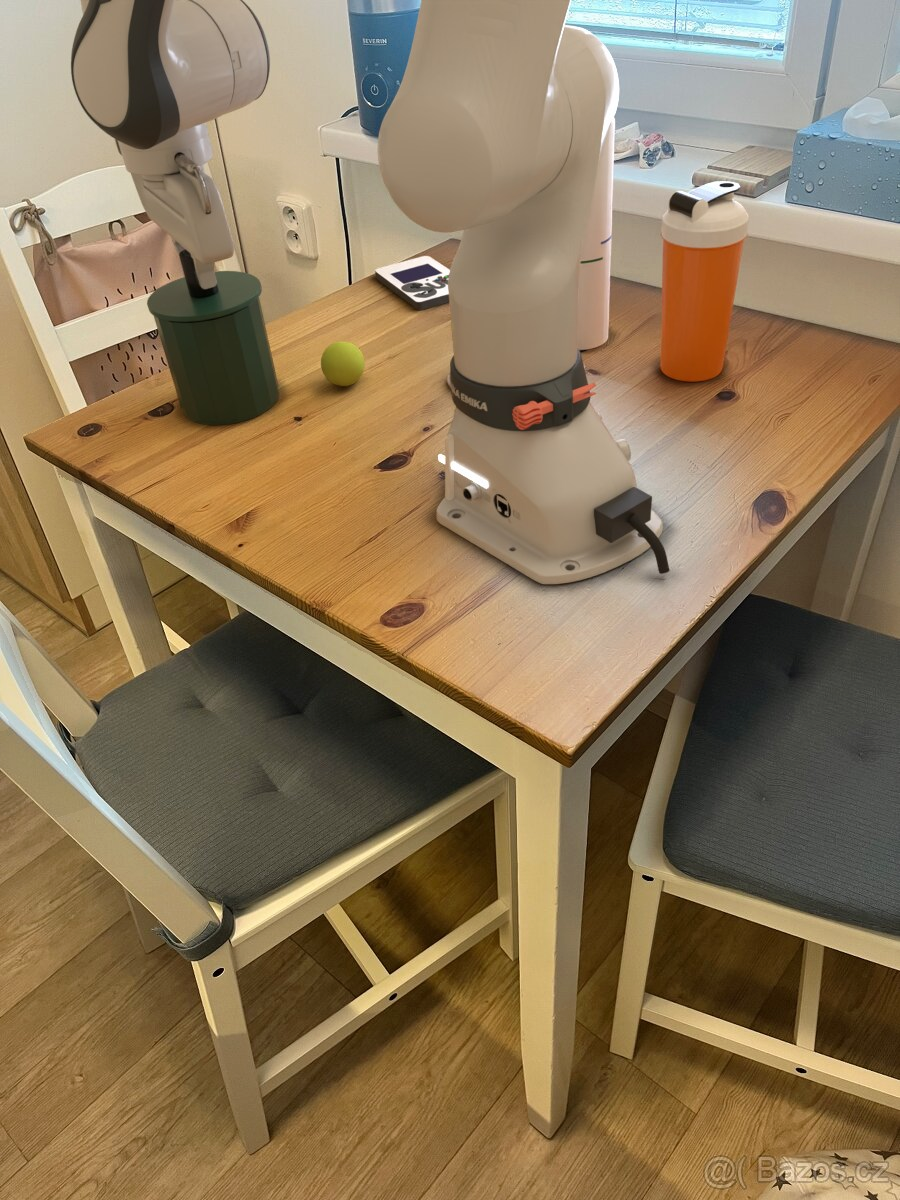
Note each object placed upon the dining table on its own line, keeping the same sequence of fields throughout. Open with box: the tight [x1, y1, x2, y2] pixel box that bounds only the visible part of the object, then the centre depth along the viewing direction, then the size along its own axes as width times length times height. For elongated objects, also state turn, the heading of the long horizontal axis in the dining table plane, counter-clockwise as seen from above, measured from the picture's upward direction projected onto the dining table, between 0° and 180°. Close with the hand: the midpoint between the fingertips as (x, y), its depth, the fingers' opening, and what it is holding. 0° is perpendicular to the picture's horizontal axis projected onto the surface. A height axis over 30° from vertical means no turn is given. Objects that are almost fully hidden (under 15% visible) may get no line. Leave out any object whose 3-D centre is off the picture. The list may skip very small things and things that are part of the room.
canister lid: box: [146, 249, 263, 322], centre depth 103 cm, size 13×13×6 cm
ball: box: [320, 340, 366, 387], centre depth 112 cm, size 5×5×5 cm
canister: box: [153, 296, 280, 426], centre depth 108 cm, size 12×12×12 cm
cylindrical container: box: [577, 117, 616, 351], centre depth 110 cm, size 7×7×25 cm
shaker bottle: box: [660, 180, 750, 383], centre depth 103 cm, size 9×9×20 cm
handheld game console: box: [374, 255, 450, 311], centre depth 134 cm, size 9×15×1 cm, turn 27°
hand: (200, 280), depth 103 cm, fingers closed on canister lid, 3 cm apart
